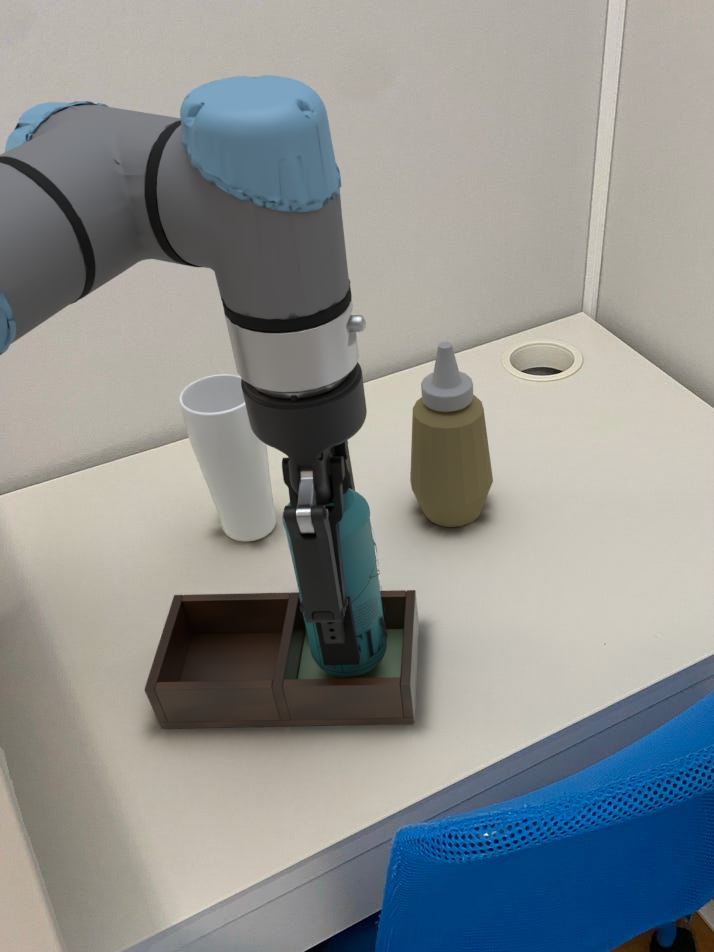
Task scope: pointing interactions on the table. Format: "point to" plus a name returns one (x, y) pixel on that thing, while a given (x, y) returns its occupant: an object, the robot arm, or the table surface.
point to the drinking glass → (229, 455)
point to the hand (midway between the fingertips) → (346, 629)
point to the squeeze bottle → (449, 445)
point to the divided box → (274, 666)
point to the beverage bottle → (355, 586)
